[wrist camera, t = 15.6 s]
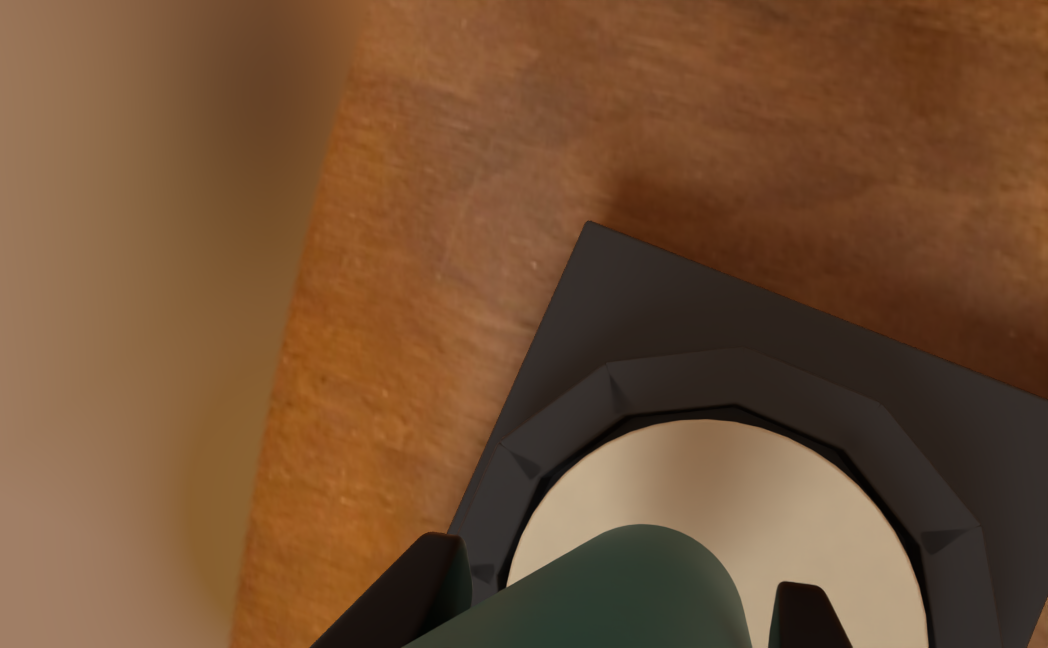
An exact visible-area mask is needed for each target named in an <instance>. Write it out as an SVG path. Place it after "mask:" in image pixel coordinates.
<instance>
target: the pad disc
mask: <svg viewBox="0 0 1048 648" xmlns="http://www.w3.org/2000/svg"><path fill="white" fill-rule="evenodd" d="M633 524H652V525H658V526H664V527H668V528H671V529H674V530H677V531H680V532H682V533H684V534H686V535H688V536H690V537H692V538H693V539H695V540H696V541H698V542H699V543H701V544H702V545H703V546H705V547H706V548H707V549H708V550H709V551H711V552H712V553H713V554H714V555H715V556H716V558H717V559H718V560H719V561H720V562H721V563H722V564H723V566H724V567H725V569H726V570H727V571H728V573H729V574H730V576H731V578H732V580H733V582H734V583H735V585H736V588H737V590H738V593H739V595H740V598H741V601H742V605H743V609H744V613H745V617H746V622H747V626H748V630H749V634H750V639H751V643H752V647H753V648H768V642H769V632H770V625H771V619H772V613H773V607H774V601H775V595H776V590H777V586H778V584H779V583H780V582H782V581H790V582H797V583H804V584H812V585H817V586H819V587H821V588H822V589H823V590H824V592H825V593H826V594H827V596H828V598H829V600H830V602H831V604H832V606H833V608H834V610H835V612H836V614H837V616H838V618H839V620H840V622H841V624H842V626H843V628H844V630H845V632H846V634H847V636H848V638H849V640H850V642H851V644H852V646H853V648H929V643H928V632H927V622H926V614H925V609H924V605H923V601H922V596H921V592H920V587H919V584H918V582H917V579H916V576H915V573H914V571H913V568H912V565H911V563H910V560H909V558H908V556H907V554H906V552H905V550H904V548H903V546H902V544H901V542H900V540H899V538H898V536H897V535H896V533H895V531H894V530H893V528H892V527H891V525H890V524H889V522H888V521H887V519H886V518H885V517H884V515H883V514H882V512H881V511H880V509H879V508H878V507H877V506H876V504H875V503H874V502H873V501H872V500H871V499H870V498H869V497H868V495H867V494H866V493H865V492H864V491H863V490H862V489H861V488H860V487H859V485H857V484H856V483H855V482H854V481H853V480H852V479H851V478H849V477H848V476H847V475H846V474H845V473H844V472H843V471H841V470H840V469H839V468H838V467H837V466H835V465H834V464H832V463H831V462H829V461H828V460H827V459H825V458H824V457H822V456H821V455H819V454H818V453H816V452H815V451H813V450H811V449H809V448H807V447H806V446H804V445H802V444H800V443H798V442H796V441H794V440H792V439H790V438H788V437H785V436H782V435H780V434H777V433H774V432H771V431H769V430H766V429H763V428H760V427H755V426H751V425H746V424H742V423H737V422H731V421H720V420H710V419H701V420H679V421H673V422H667V423H661V424H655V425H652V426H648V427H645V428H642V429H639V430H635V431H632V432H629V433H627V434H625V435H623V436H620V437H618V438H616V439H614V440H612V441H610V442H607V443H605V444H604V445H602V446H601V447H599V448H598V449H596V450H594V451H593V452H591V453H590V454H588V455H586V456H585V457H584V458H582V459H581V460H580V461H579V462H578V463H576V464H575V465H574V466H573V467H572V468H570V469H569V470H568V471H567V472H566V473H565V474H564V475H563V476H562V477H561V478H560V479H559V480H558V481H557V482H556V483H555V485H554V486H553V487H552V488H551V489H550V490H549V491H548V492H547V494H546V495H545V497H544V498H543V500H542V501H541V502H540V504H539V505H538V507H537V508H536V510H535V511H534V512H533V514H532V516H531V518H530V520H529V522H528V524H527V526H526V528H525V530H524V531H523V533H522V535H521V538H520V541H519V543H518V546H517V549H516V552H515V554H514V557H513V560H512V564H511V568H510V573H509V577H508V581H507V586H506V587H508V586H510V585H512V584H513V583H515V582H517V581H519V580H520V579H522V578H524V577H526V576H527V575H529V574H531V573H533V572H534V571H536V570H538V569H540V568H541V567H543V566H545V565H547V564H548V563H550V562H552V561H554V560H555V559H557V558H559V557H561V556H562V555H564V554H566V553H568V552H569V551H571V550H573V549H575V548H576V547H578V546H580V545H582V544H583V543H585V542H587V541H589V540H590V539H592V538H594V537H596V536H598V535H599V534H601V533H603V532H605V531H608V530H611V529H614V528H616V527H621V526H626V525H633Z"/></svg>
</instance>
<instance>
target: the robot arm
mask: <svg viewBox="0 0 1048 648" xmlns="http://www.w3.org/2000/svg"><path fill="white" fill-rule="evenodd" d="M472 595H473V584H472V577H471V572H470V566H469V560H468V554H467V548H466V544H465V541H464V539H463V538H462V537H461V536H458V535H452V534H445V533H437V532H428V533H425V534H423V535H422V536H421V537H420V538H418V539H417V540H416V541H415V542H414V543H413V544H412V545H411V546H410V547H409V548H408V549H407V550H406V551H405V552H404V553H403V554H402V555H401V556H400V557H399V558H398V559H397V560H396V561H395V562H394V563H393V564H392V565H391V566H390V567H389V568H388V569H387V570H386V571H385V572H384V573H383V574H382V575H381V576H380V577H379V578H378V579H377V580H376V581H375V582H374V583H373V584H372V585H371V586H370V587H369V588H368V589H367V590H366V592H365V593H364V594H363V595H362V596H361V597H360V598H359V599H358V600H357V601H356V602H355V603H354V604H353V605H352V606H351V607H350V608H349V609H348V610H347V611H346V612H345V613H344V614H343V615H342V616H341V617H340V618H339V619H338V620H337V621H336V622H335V623H334V624H333V625H332V626H331V627H330V628H329V629H328V630H327V631H326V632H325V633H324V634H323V635H322V636H321V637H320V638H319V639H318V640H317V641H316V642H315V643H314V644H313V645H312V646H311V647H310V648H402V647H403V646H405V645H407V644H409V643H410V642H412V641H414V640H416V639H417V638H419V637H421V636H423V635H424V634H426V633H428V632H430V631H431V630H433V629H435V628H437V627H438V626H440V625H442V624H444V623H445V622H447V621H449V620H451V619H452V618H454V617H456V616H458V615H459V614H461V613H463V612H465V611H466V610H468V609H470V608H471V603H472ZM768 648H853V646H852V644H851V642H850V640H849V638H848V636H847V634H846V632H845V630H844V628H843V626H842V624H841V622H840V620H839V618H838V616H837V614H836V612H835V610H834V608H833V606H832V604H831V602H830V600H829V598H828V596H827V594H826V593H825V592H824V590H823V589H822V588H821V587H819V586H817V585H812V584H804V583H797V582H790V581H782V582H780V583H779V584H778V586H777V590H776V595H775V601H774V607H773V613H772V619H771V625H770V632H769V642H768Z"/></svg>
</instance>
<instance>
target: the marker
mask: <svg viewBox="0 0 1048 648" xmlns="http://www.w3.org/2000/svg"><path fill="white" fill-rule="evenodd" d="M402 648H753V647H752V643H751V639H750V634H749V630H748V626H747V622H746V617H745V613H744V609H743V605H742V601H741V598H740V595H739V593H738V590H737V588H736V585H735V583H734V582H733V580H732V578H731V576H730V574H729V573H728V571H727V570H726V569H725V567H724V566H723V564H722V563H721V562H720V561H719V560H718V559H717V558H716V556H715V555H714V554H713V553H712V552H711V551H709V550H708V549H707V548H706V547H705V546H703V545H702V544H701V543H699V542H698V541H696V540H695V539H693V538H692V537H690V536H688V535H686V534H684V533H682V532H680V531H677V530H674V529H671V528H668V527H664V526H658V525H652V524H633V525H626V526H621V527H616V528H614V529H611V530H608V531H605V532H603V533H601V534H599V535H598V536H596V537H594V538H592V539H590V540H589V541H587V542H585V543H583V544H582V545H580V546H578V547H576V548H575V549H573V550H571V551H569V552H568V553H566V554H564V555H562V556H561V557H559V558H557V559H555V560H554V561H552V562H550V563H548V564H547V565H545V566H543V567H541V568H540V569H538V570H536V571H534V572H533V573H531V574H529V575H527V576H526V577H524V578H522V579H520V580H519V581H517V582H515V583H513V584H512V585H510V586H508V587H506V588H505V589H503V590H501V591H499V592H498V593H496V594H494V595H492V596H491V597H489V598H487V599H485V600H484V601H482V602H480V603H479V604H477V605H475V606H473V607H472V608H470V609H468V610H466V611H465V612H463V613H461V614H459V615H458V616H456V617H454V618H452V619H451V620H449V621H447V622H445V623H444V624H442V625H440V626H438V627H437V628H435V629H433V630H431V631H430V632H428V633H426V634H424V635H423V636H421V637H419V638H417V639H416V640H414V641H412V642H410V643H409V644H407V645H405V646H403V647H402Z"/></svg>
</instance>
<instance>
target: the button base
mask: <svg viewBox="0 0 1048 648" xmlns="http://www.w3.org/2000/svg"><path fill="white" fill-rule="evenodd" d="M701 419H710V420H720V421H731V422H737V423H742V424H746V425H751V426H755V427H760V428H763V429H766V430H769V431H771V432H774V433H777V434H780V435H782V436H785V437H788V438H790V439H792V440H794V441H796V442H798V443H800V444H802V445H804V446H806V447H807V448H809V449H811V450H813V451H815V452H816V453H818V454H819V455H821V456H822V457H824V458H825V459H827V460H828V461H829V462H831V463H832V464H834V465H835V466H837V467H838V468H839V469H840V470H841V471H843V472H844V473H845V474H846V475H847V476H848V477H849V478H851V479H852V480H853V481H854V482H855V483H856V484H857V485H859V487H860V488H861V489H862V490H863V491H864V492H865V493H866V494H867V495H868V497H869V498H870V499H871V500H872V501H873V502H874V503H875V504H876V506H877V507H878V508H879V509H880V511H881V512H882V514H883V515H884V517H885V518H886V519H887V521H888V522H889V524H890V525H891V527H892V528H893V530H894V531H895V533H896V535H897V536H898V538H899V540H900V542H901V544H902V546H903V548H904V550H905V552H906V554H907V556H908V558H909V560H910V563H911V565H912V568H913V571H914V573H915V576H916V579H917V582H918V584H919V587H920V592H921V596H922V601H923V605H924V609H925V614H926V622H927V632H928V643H929V648H1027V646H1028V643H1029V641H1030V639H1031V636H1032V634H1033V631H1034V629H1035V626H1036V624H1037V621H1038V619H1039V617H1040V614H1041V612H1042V609H1043V607H1044V604H1045V602H1046V599H1047V597H1048V400H1047V399H1045V398H1042V397H1040V396H1037V395H1035V394H1032V393H1029V392H1027V391H1024V390H1022V389H1019V388H1017V387H1014V386H1012V385H1009V384H1006V383H1004V382H1001V381H999V380H996V379H994V378H991V377H989V376H986V375H984V374H981V373H978V372H976V371H973V370H971V369H968V368H966V367H963V366H961V365H958V364H955V363H953V362H950V361H948V360H945V359H943V358H940V357H938V356H935V355H932V354H930V353H927V352H925V351H922V350H920V349H917V348H915V347H912V346H909V345H907V344H904V343H902V342H899V341H897V340H894V339H892V338H889V337H886V336H884V335H881V334H879V333H876V332H874V331H871V330H869V329H866V328H863V327H861V326H858V325H856V324H853V323H851V322H848V321H846V320H843V319H840V318H838V317H835V316H833V315H830V314H828V313H825V312H823V311H820V310H817V309H815V308H812V307H810V306H807V305H805V304H802V303H800V302H797V301H795V300H792V299H789V298H787V297H784V296H782V295H779V294H777V293H774V292H772V291H769V290H766V289H764V288H761V287H759V286H756V285H754V284H751V283H749V282H746V281H743V280H741V279H738V278H736V277H733V276H731V275H728V274H726V273H723V272H720V271H718V270H715V269H713V268H710V267H708V266H705V265H703V264H700V263H697V262H695V261H692V260H690V259H687V258H685V257H682V256H680V255H677V254H674V253H672V252H669V251H667V250H664V249H662V248H659V247H657V246H654V245H651V244H649V243H646V242H644V241H641V240H639V239H636V238H634V237H631V236H628V235H626V234H623V233H621V232H618V231H616V230H613V229H611V228H608V227H606V226H603V225H600V224H598V223H595V222H593V221H587V222H586V223H585V224H584V227H583V229H582V231H581V233H580V236H579V238H578V240H577V242H576V245H575V247H574V249H573V251H572V254H571V256H570V258H569V260H568V262H567V265H566V267H565V269H564V271H563V274H562V276H561V278H560V280H559V283H558V285H557V287H556V289H555V292H554V294H553V296H552V298H551V301H550V303H549V305H548V307H547V310H546V312H545V314H544V316H543V319H542V321H541V323H540V325H539V328H538V330H537V332H536V334H535V336H534V339H533V341H532V343H531V345H530V348H529V350H528V352H527V354H526V357H525V359H524V361H523V363H522V366H521V368H520V370H519V372H518V375H517V377H516V379H515V381H514V384H513V386H512V388H511V390H510V393H509V395H508V397H507V399H506V402H505V404H504V406H503V408H502V410H501V413H500V415H499V417H498V419H497V422H496V424H495V426H494V428H493V431H492V433H491V435H490V437H489V440H488V442H487V444H486V446H485V449H484V451H483V453H482V455H481V458H480V460H479V462H478V464H477V467H476V469H475V471H474V473H473V476H472V478H471V480H470V482H469V484H468V487H467V489H466V491H465V493H464V496H463V498H462V500H461V502H460V505H459V507H458V509H457V511H456V514H455V516H454V518H453V520H452V523H451V525H450V527H449V529H448V532H447V534H452V535H458V536H461V537H462V538H463V539H464V541H465V544H466V548H467V554H468V560H469V566H470V572H471V577H472V584H473V595H472V603H471V608H472V607H473V606H475V605H477V604H479V603H480V602H482V601H484V600H485V599H487V598H489V597H491V596H492V595H494V594H496V593H498V592H499V591H501V590H503V589H505V588H506V586H507V581H508V577H509V573H510V568H511V564H512V560H513V557H514V554H515V552H516V549H517V546H518V543H519V541H520V538H521V535H522V533H523V531H524V530H525V528H526V526H527V524H528V522H529V520H530V518H531V516H532V514H533V512H534V511H535V510H536V508H537V507H538V505H539V504H540V502H541V501H542V500H543V498H544V497H545V495H546V494H547V492H548V491H549V490H550V489H551V488H552V487H553V486H554V485H555V483H556V482H557V481H558V480H559V479H560V478H561V477H562V476H563V475H564V474H565V473H566V472H567V471H568V470H569V469H570V468H572V467H573V466H574V465H575V464H576V463H578V462H579V461H580V460H581V459H582V458H584V457H585V456H586V455H588V454H590V453H591V452H593V451H594V450H596V449H598V448H599V447H601V446H602V445H604V444H605V443H607V442H610V441H612V440H614V439H616V438H618V437H620V436H623V435H625V434H627V433H629V432H632V431H635V430H639V429H642V428H645V427H648V426H652V425H655V424H661V423H667V422H673V421H679V420H701Z"/></svg>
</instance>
